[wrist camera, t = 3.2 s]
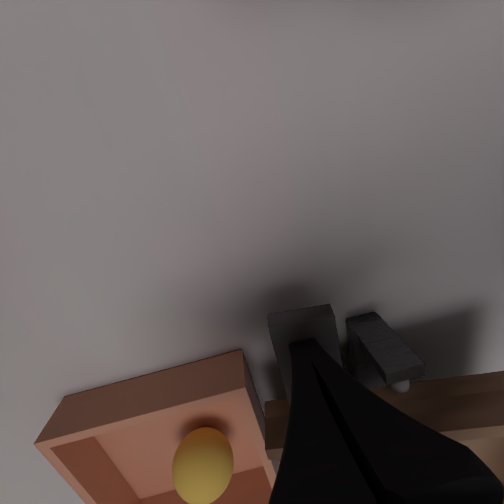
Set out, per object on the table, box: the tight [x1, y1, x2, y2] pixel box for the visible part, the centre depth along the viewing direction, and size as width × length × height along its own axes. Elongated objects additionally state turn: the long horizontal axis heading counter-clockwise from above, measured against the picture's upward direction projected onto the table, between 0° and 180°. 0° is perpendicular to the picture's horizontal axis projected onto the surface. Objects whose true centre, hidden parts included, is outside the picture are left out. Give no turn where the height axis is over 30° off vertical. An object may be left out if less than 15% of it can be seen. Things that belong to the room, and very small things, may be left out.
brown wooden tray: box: [265, 304, 504, 504], centre depth 14 cm, size 16×16×3 cm
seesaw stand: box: [346, 311, 424, 388], centre depth 18 cm, size 2×13×5 cm, turn 14°
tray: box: [34, 350, 279, 504], centre depth 18 cm, size 12×12×3 cm
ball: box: [172, 427, 234, 504], centre depth 17 cm, size 4×4×4 cm
